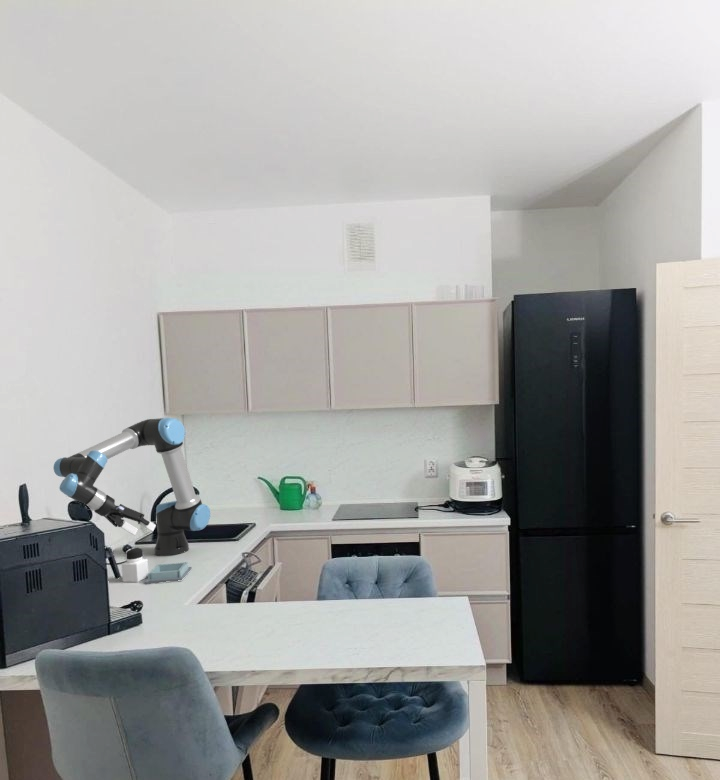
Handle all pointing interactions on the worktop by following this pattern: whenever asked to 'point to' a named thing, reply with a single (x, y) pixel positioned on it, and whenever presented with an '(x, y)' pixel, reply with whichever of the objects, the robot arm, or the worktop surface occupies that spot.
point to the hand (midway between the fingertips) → (145, 530)
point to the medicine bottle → (134, 566)
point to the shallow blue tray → (168, 572)
